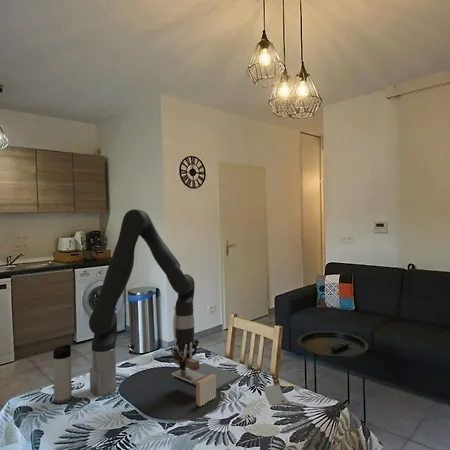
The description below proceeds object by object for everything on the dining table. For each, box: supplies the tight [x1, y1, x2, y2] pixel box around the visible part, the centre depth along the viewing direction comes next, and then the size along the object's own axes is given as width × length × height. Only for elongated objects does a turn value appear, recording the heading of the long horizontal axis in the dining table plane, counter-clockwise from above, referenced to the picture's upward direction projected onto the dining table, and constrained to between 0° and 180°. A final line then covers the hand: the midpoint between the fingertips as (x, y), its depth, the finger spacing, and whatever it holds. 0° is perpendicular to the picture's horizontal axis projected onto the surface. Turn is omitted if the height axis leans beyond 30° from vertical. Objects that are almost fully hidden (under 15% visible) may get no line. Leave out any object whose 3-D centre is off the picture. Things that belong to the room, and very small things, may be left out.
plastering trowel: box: [171, 356, 205, 383], centre depth 144 cm, size 13×7×7 cm, turn 49°
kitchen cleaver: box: [262, 374, 290, 406], centre depth 146 cm, size 24×1×10 cm
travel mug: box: [52, 344, 73, 404], centre depth 140 cm, size 6×7×20 cm
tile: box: [195, 374, 217, 407], centre depth 137 cm, size 9×2×9 cm, turn 139°
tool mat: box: [188, 362, 241, 390], centre depth 158 cm, size 18×22×1 cm
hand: (185, 368), depth 145 cm, fingers closed on plastering trowel, 2 cm apart
